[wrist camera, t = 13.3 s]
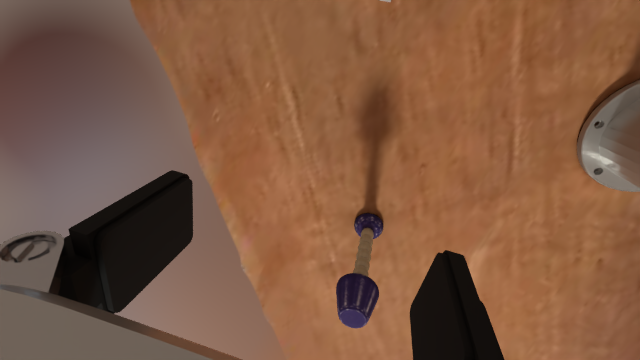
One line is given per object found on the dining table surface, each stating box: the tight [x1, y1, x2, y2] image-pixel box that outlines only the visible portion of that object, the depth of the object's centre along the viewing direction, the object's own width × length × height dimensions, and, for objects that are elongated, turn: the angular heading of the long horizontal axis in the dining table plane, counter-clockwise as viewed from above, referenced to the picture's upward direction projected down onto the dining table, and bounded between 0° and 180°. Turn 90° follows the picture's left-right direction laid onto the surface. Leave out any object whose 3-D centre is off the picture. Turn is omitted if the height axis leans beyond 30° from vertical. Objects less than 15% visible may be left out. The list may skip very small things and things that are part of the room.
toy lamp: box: [336, 213, 383, 328], centre depth 36 cm, size 5×5×17 cm
